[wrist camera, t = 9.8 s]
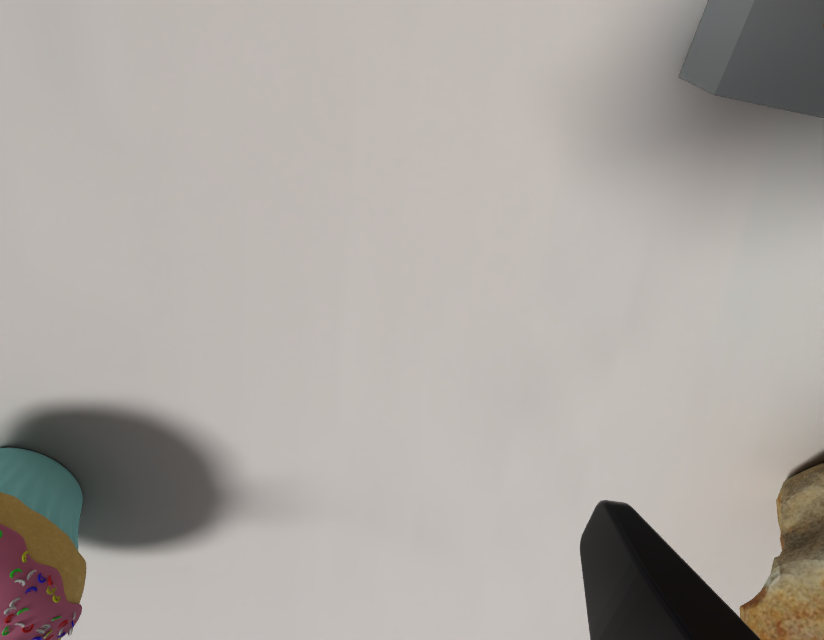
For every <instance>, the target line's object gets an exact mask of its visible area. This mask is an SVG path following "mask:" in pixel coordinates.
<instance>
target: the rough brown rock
mask: <svg viewBox="0 0 824 640" xmlns="http://www.w3.org/2000/svg"><path fill="white" fill-rule="evenodd" d="M776 503H777V514H778V522H779V526H780V530H781V537H780V541H781V546H782V552H781V554H780V556H778V557H776V558H774V561H773V566H772V570H771V574H770V576H769V578H768V579H767V581H766V583H765V585H764V587H763V588H762V590H761V591H760V592H759V593H758V594H757V595H756V596H755V597H754V598H753V599H752V600H750V601H749V602H747V603H745V604H744V605H742V606H740V618H741V619H742V620H743V622H744V623H745V624H746V625H747V626H748V627H749V628H750V629H751V630H752V631H753V632H754V633H755V634H756V635H757V636H758V637H759V638H760V639H761V640H824V463H821V464H819V465H816V466H814V467H812V468H809V469H807V470H805V471H803V472H801V473H799V474H796V475H794V476H793V477H791V478H790V479H788V480H787V481H785V482H784V483H783V486H782V488H781V491H780V493H779V495H778V498H777V500H776Z"/></svg>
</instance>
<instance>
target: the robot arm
mask: <svg viewBox="0 0 824 640" xmlns="http://www.w3.org/2000/svg"><path fill="white" fill-rule="evenodd" d="M580 555H581V564H582V572H583V581H584V589H585V598H586V606H587V615H588V623H589V631H590V639H591V640H761V639H760V638H759V637H758V636H757V635H756V634H755V633H754V632H753V631H752V630H751V629H750V628H749V627H748V626H747V625H746V624H745V623H744V622H743V620H742V619H741V618H740V617H739V616H738V615H737V614H736V613H735V612H734V611H733V610H732V609H731V608H730V607H729V606H728V605H727V604H726V603H725V602H724V601H723V600H722V599H721V598H720V597H719V596H718V595H717V594H716V593H715V592H714V591H713V590H712V589H711V588H710V587H709V586H708V585H707V584H706V583H705V582H704V581H703V580H702V578H701V577H700V576H699V575H698V574H697V573H696V572H695V571H694V570H693V569H692V568H691V567H690V566H689V565H688V564H687V563H686V562H685V561H684V560H683V559H682V558H681V557H680V556H679V555H678V554H677V553H676V552H675V551H674V550H673V549H672V548H671V547H670V546H669V545H668V544H667V543H666V542H665V541H664V540H663V539H662V538H661V537H660V535H659V534H658V533H657V532H656V531H655V530H654V529H653V528H652V527H651V526H650V525H649V524H648V523H647V522H646V521H645V520H644V519H643V518H642V517H641V516H640V515H639V514H638V513H637V512H636V511H635V510H634V509H633V508H632V507H631V506H630V505H628V504H626V503H623V502H616V501H608V500H603V501H600V502H599V503H598V504H597V506H596V507H595V509H594V511H593V514H592V516H591V518H590V520H589V522H588V524H587V526H586V528H585V530H584V532H583V534H582V537H581V541H580Z"/></svg>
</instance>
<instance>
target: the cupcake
mask: <svg viewBox="0 0 824 640" xmlns="http://www.w3.org/2000/svg"><path fill="white" fill-rule="evenodd" d="M82 504H83V496H82V491H81V488H80V486H79V484H78V482H77V481H76V479H75V478H74V477H73V475H72V474H71V473H70V472H69V471H68V470H67V469H66V468H64V467H63V466H62V465H61V464H59V463H58V462H56V461H54V460H53V459H51V458H49V457H47V456H44V455H42V454H39V453H36V452H33V451H30V450H25V449H19V448H0V640H60V639H61V638H62V637H63V636H64V635H65V634H67V633H68V636H70V635H71V634H72V630H73V627H74V625H75V624H76V622H77V621H78V619H79V617H80V615H81V612H82V606H81V605H80V604H79V603H80V600H81V597H82V593H83V590H84V585H85V577H86V562H85V560H84V558H83V557H82V556H81V554H80V553H79V552H78V529H79V520H80V515H81V510H82Z"/></svg>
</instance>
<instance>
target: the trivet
mask: <svg viewBox="0 0 824 640" xmlns="http://www.w3.org/2000/svg"><path fill="white" fill-rule="evenodd" d="M823 23H824V0H709V1H708V3H707V6H706V8H705V11H704V13H703V16H702V18H701V21H700V24H699V26H698V29H697V31H696V34H695V36H694V39H693V42H692V44H691V47H690V49H689V52H688V54H687V57H686V60H685V62H684V65H683V67H682V70H681V72H680V75H679V77H678V78H680V79H683V80H685V81H687V82H689V83H691V84H693V85H695V86H697V87H699V88H701V89H703V90H705V91H707V92H709V93H711V94H713V95H716V96H721V97H726V98H731V99H735V100H740V101H745V102H750V103H754V104H759V105H764V106H769V107H773V108H778V109H783V110H788V111H792V112H797V113H802V114H807V115H811V116H816V117H821V118H824V27H822V25H823Z"/></svg>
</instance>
